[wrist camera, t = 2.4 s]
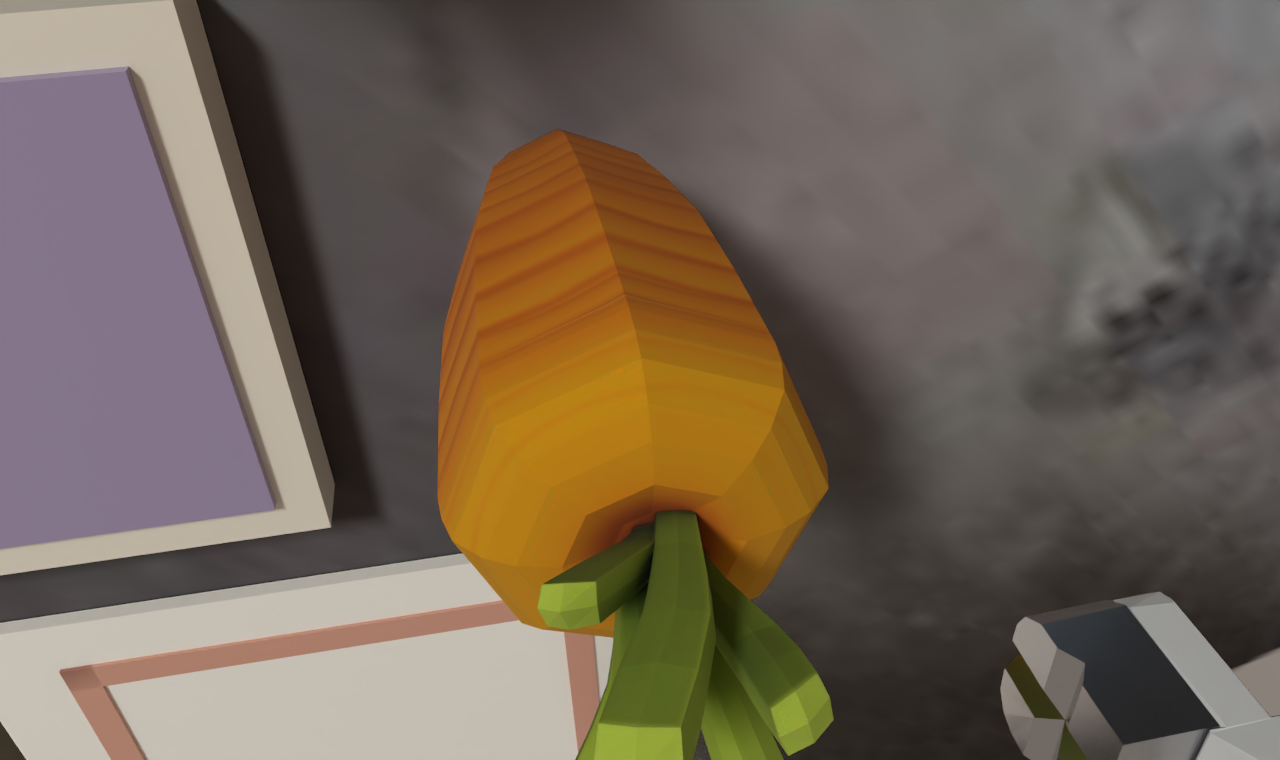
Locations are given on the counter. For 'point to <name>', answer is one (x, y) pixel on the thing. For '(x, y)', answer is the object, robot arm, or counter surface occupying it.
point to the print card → (304, 674)
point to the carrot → (629, 451)
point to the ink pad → (137, 301)
